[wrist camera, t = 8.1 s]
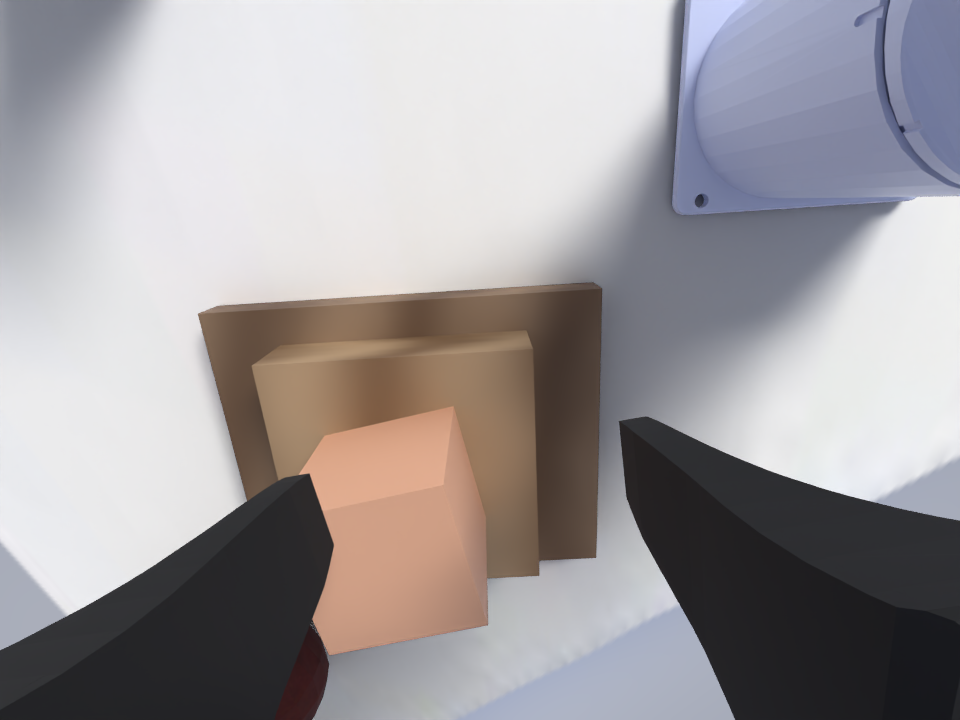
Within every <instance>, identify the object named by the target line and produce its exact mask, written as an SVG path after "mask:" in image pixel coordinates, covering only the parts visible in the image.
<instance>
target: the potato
mask: <svg viewBox="0 0 960 720" xmlns="http://www.w3.org/2000/svg"><path fill="white" fill-rule="evenodd" d="M328 668H329V662H328V659H327V655H326V652H325V649H324V646H323V644H322V641H321V639H320V637H319V636H318V635H317V633H316V632H315V631H314V630H313V629H312V628H311V626H309V629H308V631H307V634H306V636H305V639H304V641H303V644H302V646H301V649H300V652H299V654H298V657H297V659H296V662H295V664H294V667H293V669H292V672H291V675H290V677H289V680H288V682H287V685H286V687H285V690H284V693H283V696H282V699H281V701H280V704H279V707H278V710H277V713H276V716H275V720H312V719H313V717H314V716H315V713H316V711H317V709H318V707H319V705H320V702H321V700H322V698H323V695H324V690H325V686H326V682H327V677H328Z"/></svg>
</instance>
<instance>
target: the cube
mask: <svg viewBox="0 0 960 720" xmlns="http://www.w3.org/2000/svg"><path fill="white" fill-rule="evenodd" d="M308 473H309V474H310V476H311V479H312V482H313V485H314V488H315V491H316V494H317V497H318V500H319V502H320V505H321V508H322V511H323V514H324V517H325V520H326V523H327V525H328V528H329V531H330V534H331V537H332V540H333V543H334V548H333V553H332V557H331V562H330V567H329V571H328V575H327V579H326V582H325V586H324V589H323V592H322V595H321V597H320V600H319V603H318V605H317V608H316V610H315V613H314V616H313V618H312V620H313V622H314V624H315V626H316V629H317V631H318V633H319V635H320V637H321V639H322V641H323V643H324V645H325V647H326V650H327V652H328V654H329V655H334V654H339V653H344V652H349V651H355V650H360V649H365V648H370V647H376V646H381V645H386V644H391V643H397V642H402V641H407V640H413V639H418V638H423V637H428V636H434V635H439V634H444V633H449V632H455V631H460V630H465V629H470V628H476V627H481V626H486V625H488V600H487V549H486V516H485V512H484V509H483V506H482V502H481V499H480V495H479V492H478V489H477V485H476V482H475V478H474V475H473V471H472V468H471V465H470V461H469V458H468V454H467V451H466V447H465V444H464V441H463V437H462V434H461V430H460V427H459V424H458V420H457V417H456V413H455V410H454V406H452V407H448V408H444V409H439V410H435V411H430V412H426V413H422V414H417V415H413V416H409V417H404V418H400V419H395V420H391V421H387V422H382V423H378V424H374V425H369V426H365V427H361V428H356V429H352V430H347V431H343V432H339V433H334V434H330V435H326V436H324V437H323V439H322V440H321V442H320V443H319V445H318V446H317V448H316V449H315V451H314V452H313V454H312V455H311V457H310V458H309V460H308V461H307V463H306V464H305V466H304V467H303V469H302V470H301V472H300V473H299V475H302V474H308Z"/></svg>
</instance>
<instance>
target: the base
mask: <svg viewBox="0 0 960 720" xmlns="http://www.w3.org/2000/svg"><path fill="white" fill-rule="evenodd" d="M601 312H602V288H600V287H599V286H598V285H596V284H595V283H593V282H591V283H575V284H559V285H543V286H527V287H511V288H495V289H479V290H463V291H447V292H431V293H415V294H399V295H383V296H367V297H351V298H336V299H320V300H304V301H288V302H272V303H256V304H240V305H224V306H216V307H214V308H211V309H209V310H206V311H204V312H201V313H199V314H198V316H199V320H200V324H201V328H202V331H203V335H204V339H205V343H206V347H207V350H208V354H209V358H210V362H211V366H212V369H213V373H214V377H215V381H216V384H217V388H218V392H219V396H220V400H221V403H222V407H223V411H224V415H225V418H226V422H227V426H228V430H229V434H230V437H231V441H232V445H233V449H234V453H235V456H236V460H237V464H238V468H239V471H240V475H241V479H242V483H243V487H244V490H245V494H246V498H247V501H248V500H250V499H251V498H252V497H254V496H255V495H257V494H258V493H260V492H261V491H263V490H264V489H266V488H267V487H269V486H270V485H272V484H274V483H275V482H277V481H279V480H281V479H283V478H285V477H291V476H296V475H299V473H300V472H301V470H302V469H303V467H304V466H305V464H306V463H307V461H308V460H309V458H310V457H311V455H312V454H313V452H314V451H315V449H316V448H317V446H318V445H319V443H320V442H321V440H322V439H323V437H324V436H326V435H330V434H334V433H339V432H343V431H347V430H352V429H356V428H361V427H365V426H369V425H374V424H378V423H382V422H387V421H391V420H395V419H400V418H404V417H409V416H413V415H417V414H422V413H426V412H430V411H435V410H439V409H444V408H448V407H452V406H454V410H455V413H456V417H457V420H458V424H459V427H460V430H461V434H462V437H463V441H464V444H465V447H466V451H467V454H468V458H469V461H470V465H471V468H472V471H473V475H474V478H475V482H476V485H477V489H478V492H479V495H480V499H481V502H482V506H483V509H484V512H485V516H486V549H487V578H503V577H523V576H539V561H541V560H561V559H581V558H596V541H597V495H598V449H599V403H600V358H601Z"/></svg>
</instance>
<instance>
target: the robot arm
mask: <svg viewBox="0 0 960 720" xmlns="http://www.w3.org/2000/svg"><path fill="white" fill-rule="evenodd" d="M699 194H701V195H702V196H703V197H704V202H703V204H702V205H701V206H700V207H697V206H696V205H695V199H696V197H697V196H698V195H699ZM927 196H960V0H686V2H685V17H684V32H683V47H682V62H681V77H680V92H679V107H678V122H677V137H676V152H675V167H674V182H673V197H672V205H673V209H674V210H675V212H677V213H678V214H681V215H697V214H712V213H728V212H743V211H758V210H773V209H789V208H804V207H819V206H835V205H850V204H865V203H881V202H896V201H909V200H913V199H915V198H916V197H927ZM619 425H620V436H621V446H622V456H623V466H624V476H625V486H626V496H627V500H628V503H629V505H630V508H631V510H632V513H633V516H634V518H635V521H636V523H637V525H638V528H639V530H640V533H641V535H642V537H643V539H644V541H645V543H646V545H647V547H648V548H649V550H650V552H651V554H652V556H653V558H654V559H655V561H656V563H657V565H658V567H659V568H660V570H661V572H662V574H663V575H664V577H665V579H666V581H667V583H668V584H669V586H670V588H671V590H672V592H673V593H674V595H675V597H676V599H677V600H678V602H679V604H680V606H681V608H682V609H683V611H684V613H685V615H686V616H687V618H688V620H689V622H690V624H691V625H692V627H693V629H694V631H695V633H696V635H697V637H698V638H699V641H700V643H701V645H702V646H703V648H704V650H705V652H706V654H707V657H708V659H709V661H710V664H711V666H712V668H713V670H714V673H715V675H716V677H717V679H718V681H719V684H720V686H721V688H722V691H723V693H724V695H725V697H726V700H727V702H728V704H729V706H730V709H731V711H732V713H733V715H734V718H735V720H960V521H958V520H953V519H947V518H942V517H936V516H932V515H927V514H922V513H917V512H912V511H907V510H903V509H899V508H894V507H891V506H887V505H882V504H878V503H874V502H870V501H866V500H862V499H858V498H854V497H850V496H847V495H843V494H840V493H836V492H832V491H829V490H825V489H822V488H819V487H816V486H813V485H810V484H807V483H803V482H800V481H797V480H794V479H791V478H788V477H785V476H782V475H779V474H777V473H774V472H771V471H768V470H766V469H763V468H761V467H758V466H756V465H753V464H751V463H748V462H746V461H743V460H741V459H738V458H736V457H733V456H731V455H729V454H726V453H724V452H722V451H720V450H717V449H715V448H713V447H711V446H709V445H706V444H704V443H702V442H700V441H698V440H696V439H694V438H692V437H690V436H688V435H685V434H683V433H681V432H679V431H677V430H675V429H673V428H671V427H669V426H667V425H665V424H663V423H661V422H659V421H656V420H654V419H652V418H649V417H640V418H634V419H629V420H623V421H619ZM333 548H334V543H333V540H332V537H331V534H330V531H329V528H328V525H327V523H326V520H325V517H324V514H323V511H322V508H321V505H320V502H319V500H318V497H317V494H316V491H315V488H314V485H313V482H312V479H311V476H310V474H309V473H308V474H302V475H296V476H291V477H285V478H283V479H281V480H279V481H277V482H275V483H274V484H272V485H270V486H269V487H267V488H266V489H264V490H263V491H261V492H260V493H258V494H257V495H255V496H254V497H252V498H251V499H250V500H248V501H247V502H245V503H244V504H243V505H241V506H240V507H238V508H237V509H236V510H234V511H233V512H231V513H230V514H229V515H227V516H226V517H224V518H223V519H222V520H220V521H219V522H217V523H216V524H215V525H213V526H212V527H210V528H209V529H208V530H206V531H205V532H203V533H202V534H200V535H199V536H197V537H196V538H194V539H193V540H191V541H190V542H188V543H187V544H185V545H184V546H183V547H181V548H180V549H178V550H177V551H175V552H174V553H172V554H171V555H169V556H168V557H166V558H165V559H163V560H162V561H160V562H159V563H157V564H156V565H154V566H153V567H151V568H150V569H148V570H146V571H145V572H143V573H142V574H140V575H138V576H137V577H135V578H133V579H132V580H130V581H129V582H127V583H125V584H124V585H122V586H120V587H118V588H117V589H115V590H113V591H112V592H110V593H108V594H106V595H105V596H103V597H101V598H100V599H98V600H96V601H94V602H93V603H91V604H89V605H87V606H85V607H84V608H82V609H80V610H78V611H76V612H74V613H72V614H70V615H68V616H67V617H65V618H63V619H61V620H59V621H57V622H55V623H53V624H51V625H49V626H47V627H46V628H44V629H42V630H40V631H38V632H36V633H34V634H32V635H30V636H28V637H26V638H24V639H23V640H21V641H19V642H17V643H15V644H13V645H11V646H9V647H7V648H4V649H2V650H0V720H275V716H276V713H277V710H278V707H279V704H280V701H281V699H282V696H283V693H284V690H285V687H286V685H287V682H288V680H289V677H290V675H291V672H292V669H293V667H294V664H295V662H296V659H297V657H298V654H299V652H300V649H301V646H302V644H303V641H304V639H305V636H306V634H307V631H308V629H309V626H310V624H311V621H312V618H313V616H314V613H315V610H316V608H317V605H318V603H319V600H320V597H321V595H322V592H323V589H324V586H325V582H326V579H327V575H328V571H329V567H330V562H331V557H332V553H333Z"/></svg>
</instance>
